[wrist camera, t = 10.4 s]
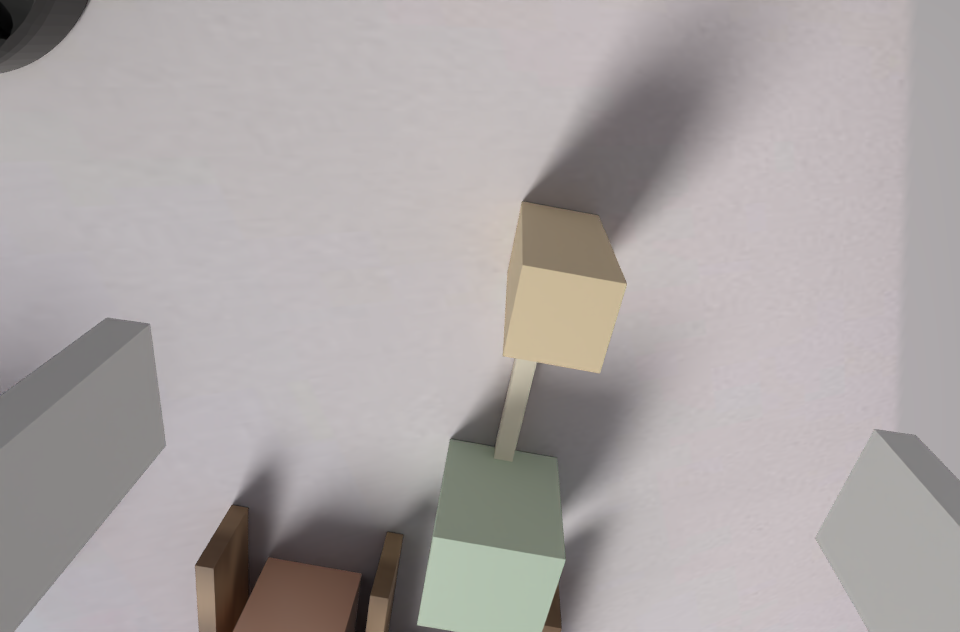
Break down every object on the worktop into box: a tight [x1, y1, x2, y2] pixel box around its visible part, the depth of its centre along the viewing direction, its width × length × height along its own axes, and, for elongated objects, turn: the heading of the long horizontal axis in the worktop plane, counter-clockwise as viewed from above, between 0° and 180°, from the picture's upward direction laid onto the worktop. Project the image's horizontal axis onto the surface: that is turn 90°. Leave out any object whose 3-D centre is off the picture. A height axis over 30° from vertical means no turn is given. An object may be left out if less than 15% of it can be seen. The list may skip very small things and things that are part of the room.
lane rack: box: [195, 505, 562, 632], centre depth 37 cm, size 12×20×4 cm, turn 80°
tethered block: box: [417, 201, 627, 632], centre depth 27 cm, size 20×6×8 cm, turn 170°
